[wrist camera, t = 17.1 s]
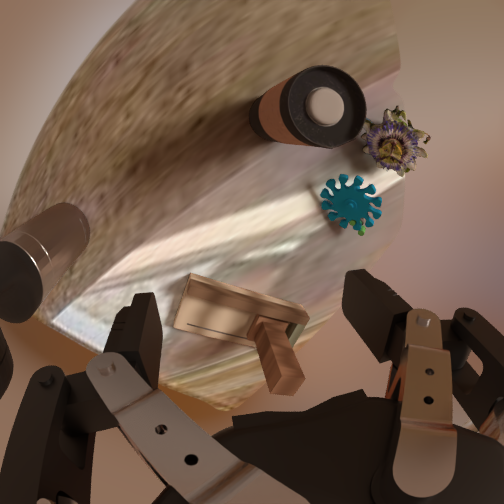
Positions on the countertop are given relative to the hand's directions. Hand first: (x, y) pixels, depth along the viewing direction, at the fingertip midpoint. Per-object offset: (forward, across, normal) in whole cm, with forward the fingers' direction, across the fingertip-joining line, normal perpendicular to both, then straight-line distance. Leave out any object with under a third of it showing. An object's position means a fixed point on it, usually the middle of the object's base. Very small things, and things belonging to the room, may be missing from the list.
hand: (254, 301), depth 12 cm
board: (+33, -2, +24) cm, 41 cm away
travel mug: (+33, -9, -9) cm, 36 cm away
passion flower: (+33, -28, -7) cm, 44 cm away
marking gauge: (+31, -7, +26) cm, 41 cm away
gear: (+33, -20, +4) cm, 39 cm away
